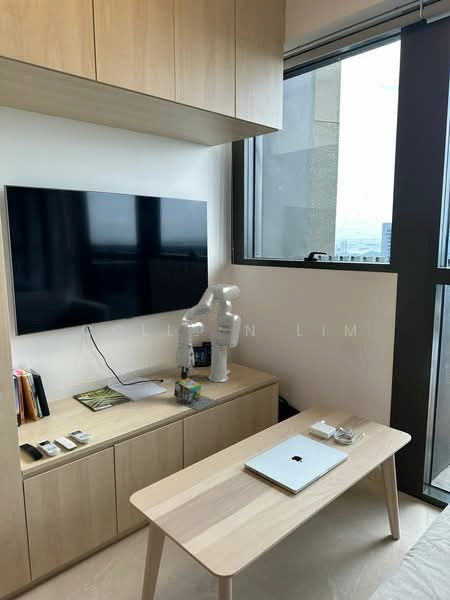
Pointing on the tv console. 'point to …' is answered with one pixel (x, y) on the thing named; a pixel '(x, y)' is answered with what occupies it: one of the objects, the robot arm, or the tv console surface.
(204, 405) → the mat
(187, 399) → the chalk box
